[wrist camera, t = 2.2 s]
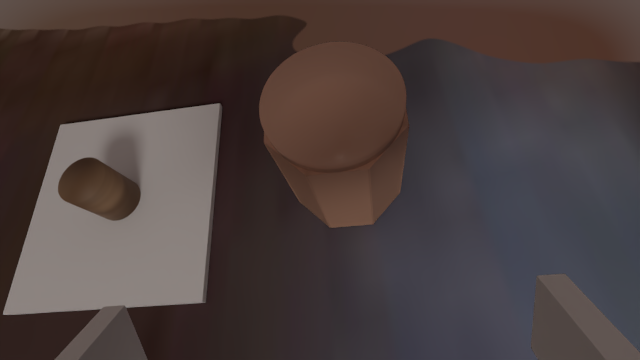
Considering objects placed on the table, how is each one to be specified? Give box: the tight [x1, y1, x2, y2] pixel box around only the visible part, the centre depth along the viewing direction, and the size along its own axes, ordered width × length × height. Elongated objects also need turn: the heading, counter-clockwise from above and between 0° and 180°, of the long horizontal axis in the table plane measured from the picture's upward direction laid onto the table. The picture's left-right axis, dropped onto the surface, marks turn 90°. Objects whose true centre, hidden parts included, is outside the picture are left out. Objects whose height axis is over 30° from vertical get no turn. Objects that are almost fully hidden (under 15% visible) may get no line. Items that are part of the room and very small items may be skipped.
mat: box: [3, 103, 222, 315], centre depth 31 cm, size 17×18×1 cm
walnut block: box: [58, 157, 141, 221], centre depth 29 cm, size 4×4×4 cm
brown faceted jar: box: [259, 41, 409, 228], centre depth 24 cm, size 8×8×11 cm
